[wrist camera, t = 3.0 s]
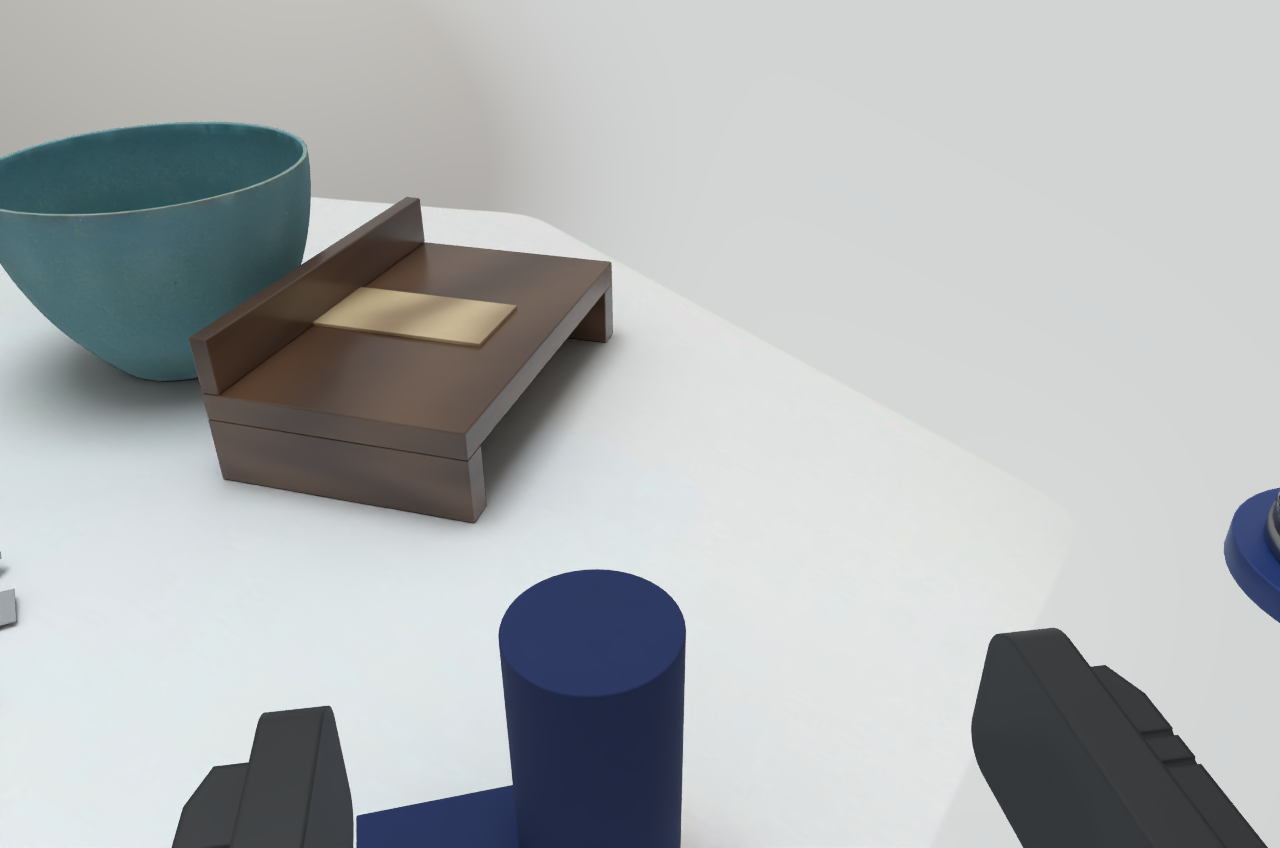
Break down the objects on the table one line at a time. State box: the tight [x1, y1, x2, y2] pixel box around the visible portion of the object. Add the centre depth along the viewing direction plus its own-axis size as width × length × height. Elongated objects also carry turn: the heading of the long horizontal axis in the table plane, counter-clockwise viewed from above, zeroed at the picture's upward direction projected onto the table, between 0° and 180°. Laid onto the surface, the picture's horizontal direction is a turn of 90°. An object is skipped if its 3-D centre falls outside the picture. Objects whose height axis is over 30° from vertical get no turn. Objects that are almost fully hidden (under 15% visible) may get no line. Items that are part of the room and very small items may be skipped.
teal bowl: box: [0, 122, 311, 381], centre depth 62 cm, size 18×18×12 cm
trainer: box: [356, 569, 686, 848], centre depth 28 cm, size 9×5×11 cm, turn 104°
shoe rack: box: [188, 197, 613, 523], centre depth 57 cm, size 14×22×8 cm, turn 164°
